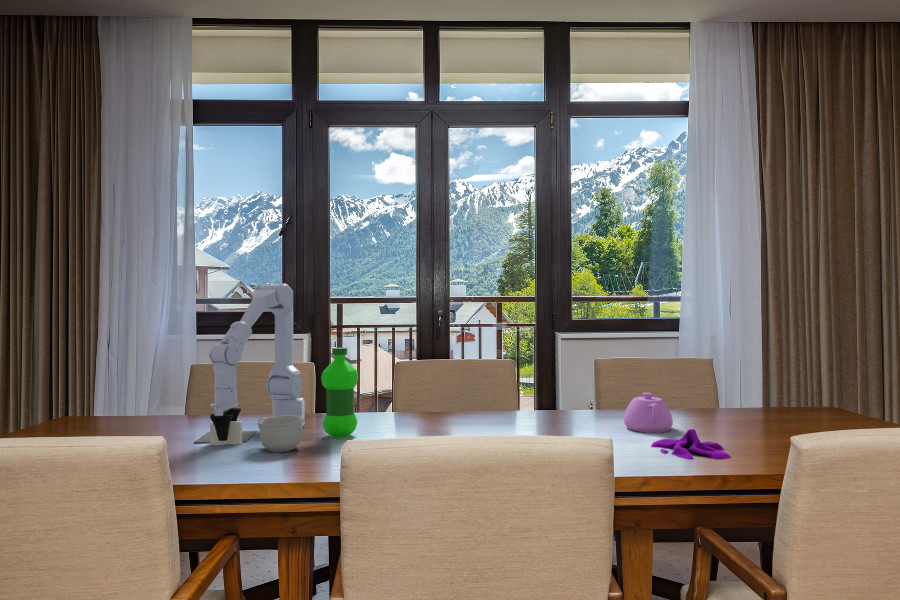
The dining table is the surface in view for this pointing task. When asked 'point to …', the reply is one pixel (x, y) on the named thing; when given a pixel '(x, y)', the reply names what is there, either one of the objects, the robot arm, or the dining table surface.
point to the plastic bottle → (339, 395)
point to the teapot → (648, 414)
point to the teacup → (280, 432)
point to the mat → (245, 437)
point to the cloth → (691, 447)
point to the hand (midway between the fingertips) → (226, 437)
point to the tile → (233, 434)
